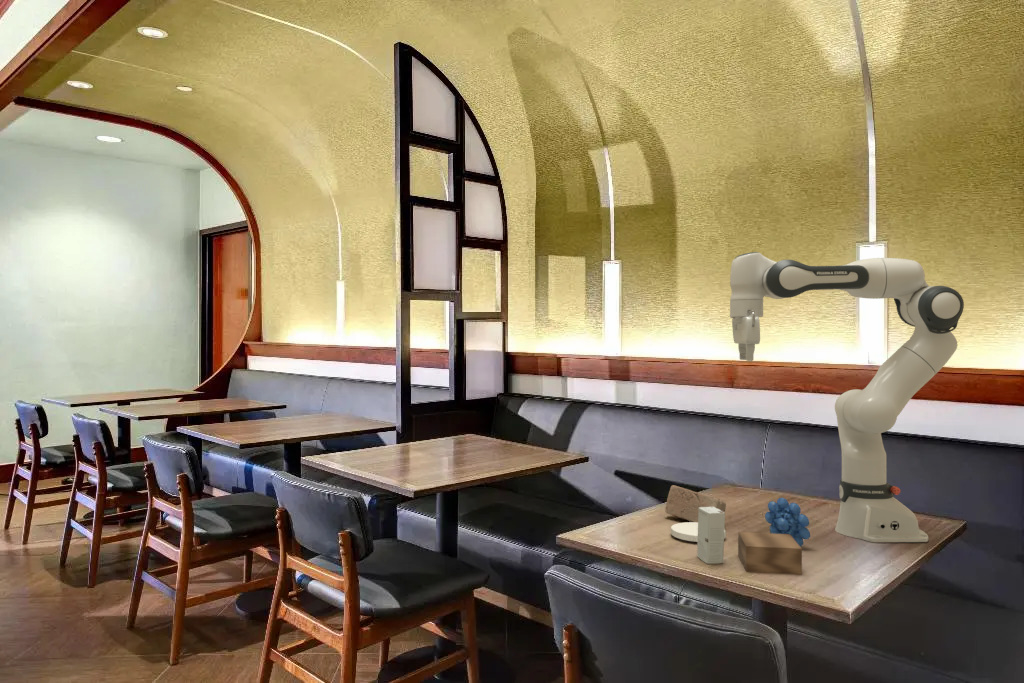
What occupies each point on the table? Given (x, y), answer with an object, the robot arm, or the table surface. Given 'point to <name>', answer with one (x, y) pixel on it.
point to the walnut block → (769, 553)
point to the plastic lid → (687, 531)
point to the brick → (690, 503)
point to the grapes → (787, 520)
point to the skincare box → (710, 535)
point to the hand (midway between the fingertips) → (746, 360)
